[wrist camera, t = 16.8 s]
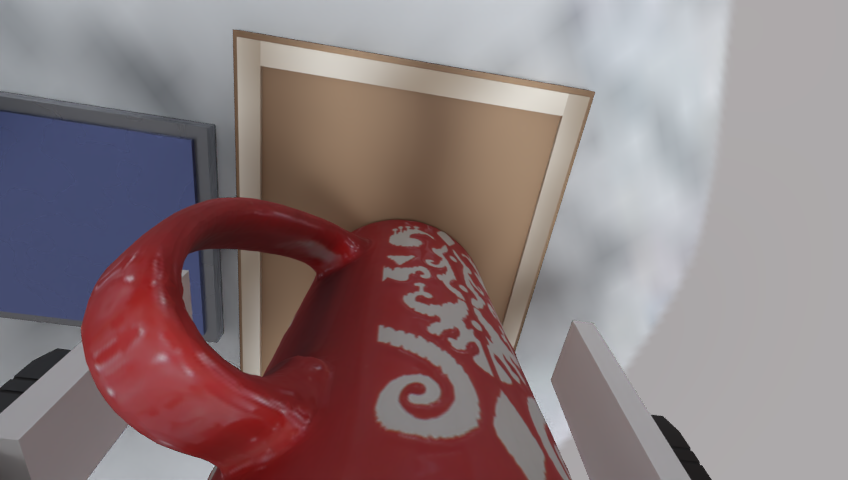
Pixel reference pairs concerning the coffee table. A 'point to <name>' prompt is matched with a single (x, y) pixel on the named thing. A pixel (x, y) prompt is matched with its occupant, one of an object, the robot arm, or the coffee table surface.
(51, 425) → the robot arm
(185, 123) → the ink pad
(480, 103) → the board
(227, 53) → the coffee table surface
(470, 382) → the mug
